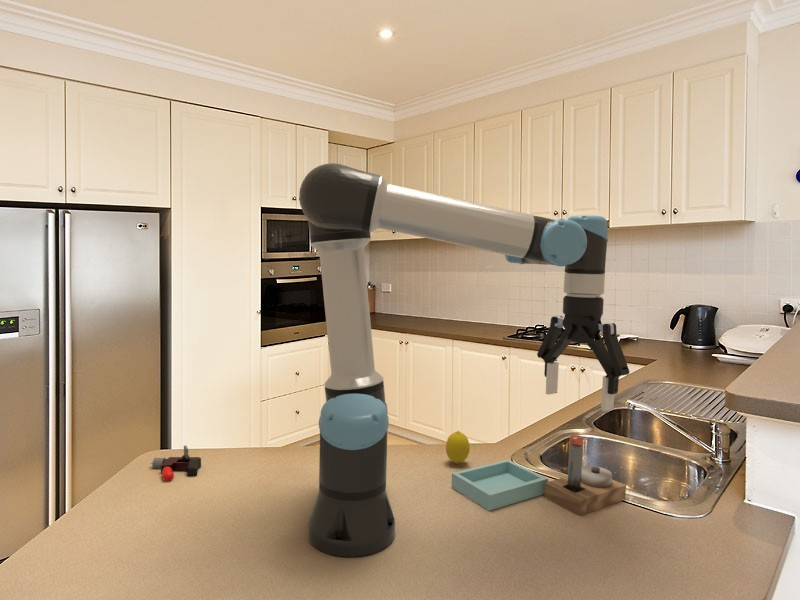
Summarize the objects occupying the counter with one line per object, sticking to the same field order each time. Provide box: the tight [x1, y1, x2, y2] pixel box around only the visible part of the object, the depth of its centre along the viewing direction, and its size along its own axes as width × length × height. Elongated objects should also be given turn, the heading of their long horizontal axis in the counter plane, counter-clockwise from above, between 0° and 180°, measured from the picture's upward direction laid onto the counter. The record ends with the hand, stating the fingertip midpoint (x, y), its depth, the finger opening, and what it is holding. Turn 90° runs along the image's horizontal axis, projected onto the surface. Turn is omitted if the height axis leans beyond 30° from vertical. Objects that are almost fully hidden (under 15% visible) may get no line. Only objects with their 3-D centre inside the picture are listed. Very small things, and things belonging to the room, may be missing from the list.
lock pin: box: [567, 434, 584, 493], centre depth 107 cm, size 3×3×14 cm
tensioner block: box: [543, 465, 627, 516], centre depth 110 cm, size 14×9×6 cm, turn 122°
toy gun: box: [149, 445, 202, 482], centre depth 117 cm, size 10×12×5 cm
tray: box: [451, 459, 549, 511], centre depth 113 cm, size 16×12×3 cm
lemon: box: [445, 430, 470, 465], centre depth 126 cm, size 6×6×8 cm
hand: (577, 401), depth 107 cm, fingers open, 13 cm apart
